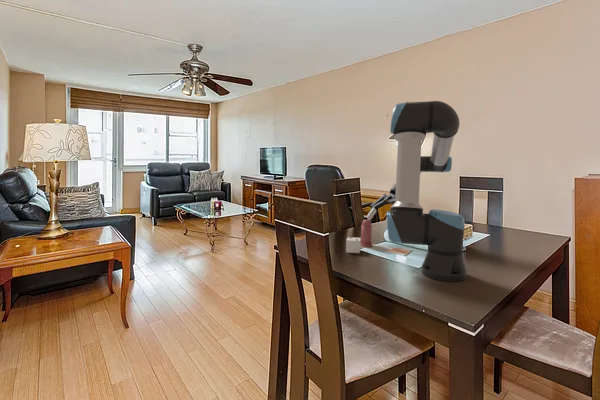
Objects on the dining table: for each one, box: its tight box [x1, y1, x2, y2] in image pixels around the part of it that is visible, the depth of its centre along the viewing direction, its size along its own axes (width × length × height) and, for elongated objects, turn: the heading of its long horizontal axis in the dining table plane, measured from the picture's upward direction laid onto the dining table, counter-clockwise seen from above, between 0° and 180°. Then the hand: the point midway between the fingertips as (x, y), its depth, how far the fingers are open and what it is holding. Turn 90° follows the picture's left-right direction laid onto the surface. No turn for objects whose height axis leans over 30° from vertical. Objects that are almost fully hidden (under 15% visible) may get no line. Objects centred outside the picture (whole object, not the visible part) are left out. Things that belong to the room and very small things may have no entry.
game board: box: [361, 243, 413, 257], centre depth 154 cm, size 9×25×1 cm, turn 55°
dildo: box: [360, 219, 374, 247], centre depth 158 cm, size 6×6×13 cm
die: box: [345, 236, 362, 254], centre depth 149 cm, size 6×6×6 cm
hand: (377, 221), depth 161 cm, fingers open, 13 cm apart
